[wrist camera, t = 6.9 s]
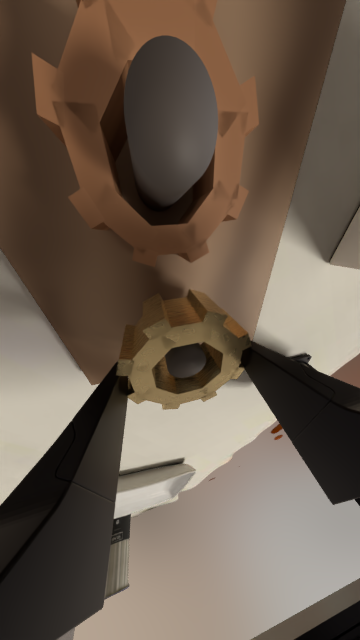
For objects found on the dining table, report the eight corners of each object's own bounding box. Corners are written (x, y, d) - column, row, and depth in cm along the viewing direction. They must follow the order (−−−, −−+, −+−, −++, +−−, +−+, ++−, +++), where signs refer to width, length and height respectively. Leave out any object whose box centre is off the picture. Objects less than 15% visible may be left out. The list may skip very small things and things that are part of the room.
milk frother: (127, 508, 53) (122, 592, 40) (139, 512, 61) (138, 582, 49) (88, 523, 51) (70, 615, 39) (106, 524, 60) (96, 600, 47)
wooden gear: (230, 282, 9) (263, 301, 7) (220, 361, 13) (238, 392, 11) (109, 300, 8) (94, 330, 5) (138, 380, 12) (137, 419, 9)
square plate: (85, 508, 42) (80, 531, 39) (77, 477, 30) (69, 507, 26) (171, 485, 51) (173, 502, 47) (194, 453, 38) (199, 473, 35)
